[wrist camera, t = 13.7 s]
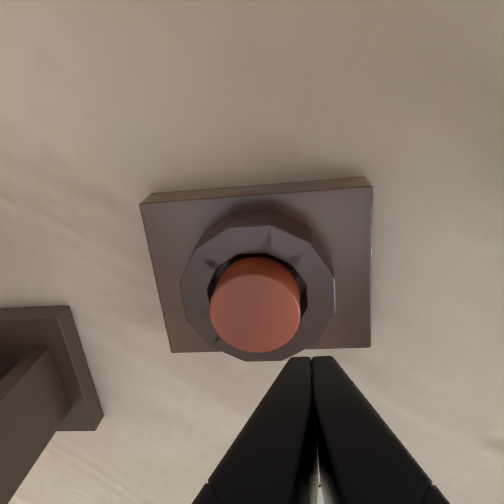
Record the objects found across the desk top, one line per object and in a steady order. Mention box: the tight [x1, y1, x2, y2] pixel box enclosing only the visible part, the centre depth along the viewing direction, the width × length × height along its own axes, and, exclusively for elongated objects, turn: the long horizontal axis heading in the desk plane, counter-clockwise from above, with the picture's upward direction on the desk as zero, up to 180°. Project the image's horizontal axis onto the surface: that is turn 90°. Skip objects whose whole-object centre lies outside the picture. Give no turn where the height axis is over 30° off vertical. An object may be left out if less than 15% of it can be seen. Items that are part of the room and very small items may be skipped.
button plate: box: [139, 177, 372, 361], centre depth 19 cm, size 10×8×4 cm
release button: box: [209, 256, 300, 353], centre depth 17 cm, size 4×4×2 cm
